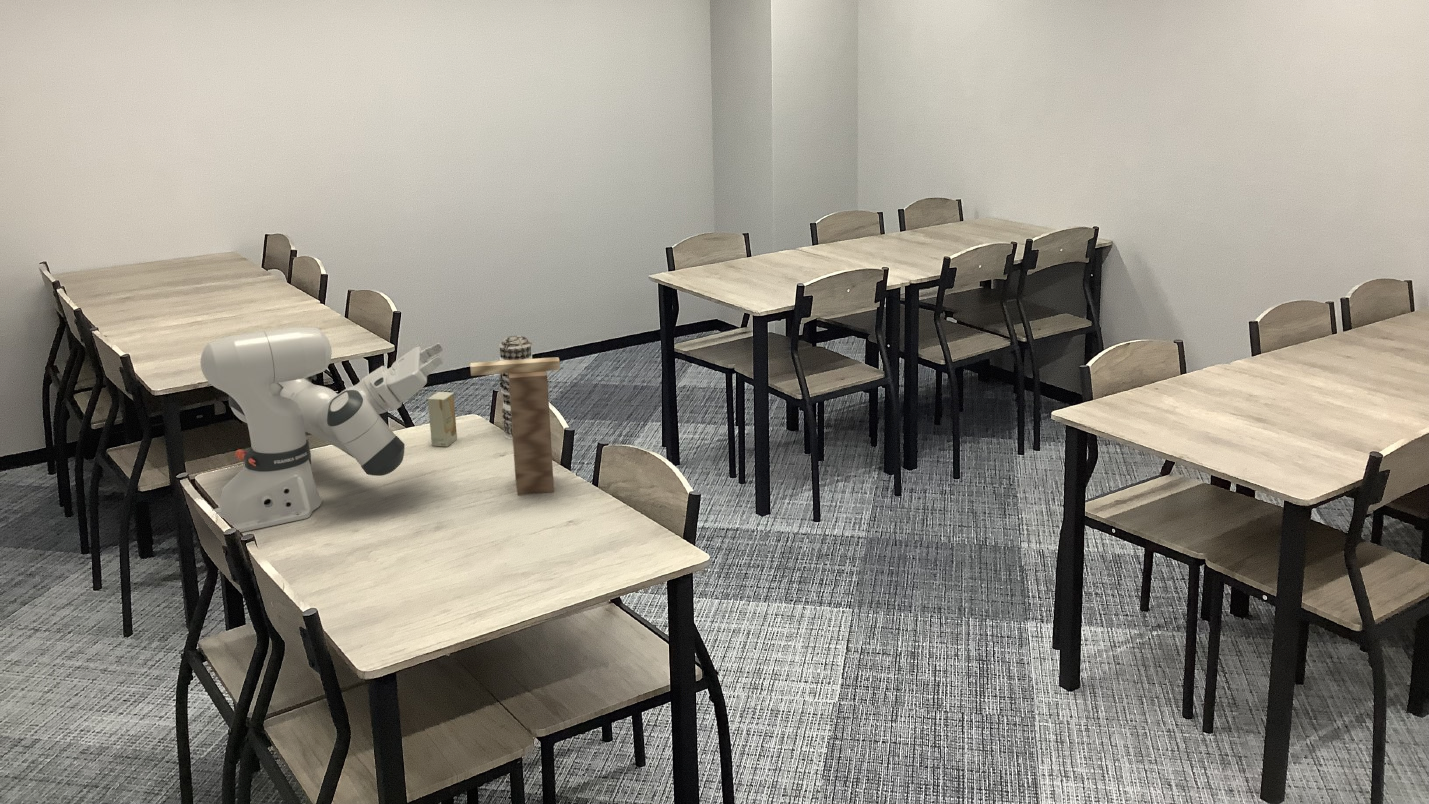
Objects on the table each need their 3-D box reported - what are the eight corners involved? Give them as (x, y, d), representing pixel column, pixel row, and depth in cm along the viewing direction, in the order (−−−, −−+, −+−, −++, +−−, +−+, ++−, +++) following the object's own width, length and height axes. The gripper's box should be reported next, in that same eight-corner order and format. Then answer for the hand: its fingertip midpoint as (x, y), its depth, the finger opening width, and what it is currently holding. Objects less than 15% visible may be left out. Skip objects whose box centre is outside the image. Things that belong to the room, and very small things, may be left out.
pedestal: (517, 495, 264) (509, 377, 255) (515, 478, 273) (507, 364, 264) (553, 491, 265) (547, 375, 257) (550, 475, 274) (544, 362, 266)
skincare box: (447, 447, 292) (443, 399, 289) (431, 446, 293) (426, 399, 289) (458, 438, 298) (454, 391, 295) (441, 437, 299) (437, 390, 295)
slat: (471, 375, 257) (470, 366, 256) (470, 371, 260) (470, 362, 259) (559, 369, 260) (559, 360, 260) (558, 365, 263) (558, 357, 262)
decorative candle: (518, 425, 307) (511, 331, 299) (546, 431, 302) (541, 336, 294) (494, 436, 299) (487, 340, 291) (523, 442, 295) (517, 345, 287)
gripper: (397, 383, 271) (449, 350, 271) (394, 413, 252) (449, 377, 252) (380, 361, 269) (432, 327, 269) (376, 389, 250) (432, 353, 250)
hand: (441, 352), depth 260 cm, fingers open, 8 cm apart
